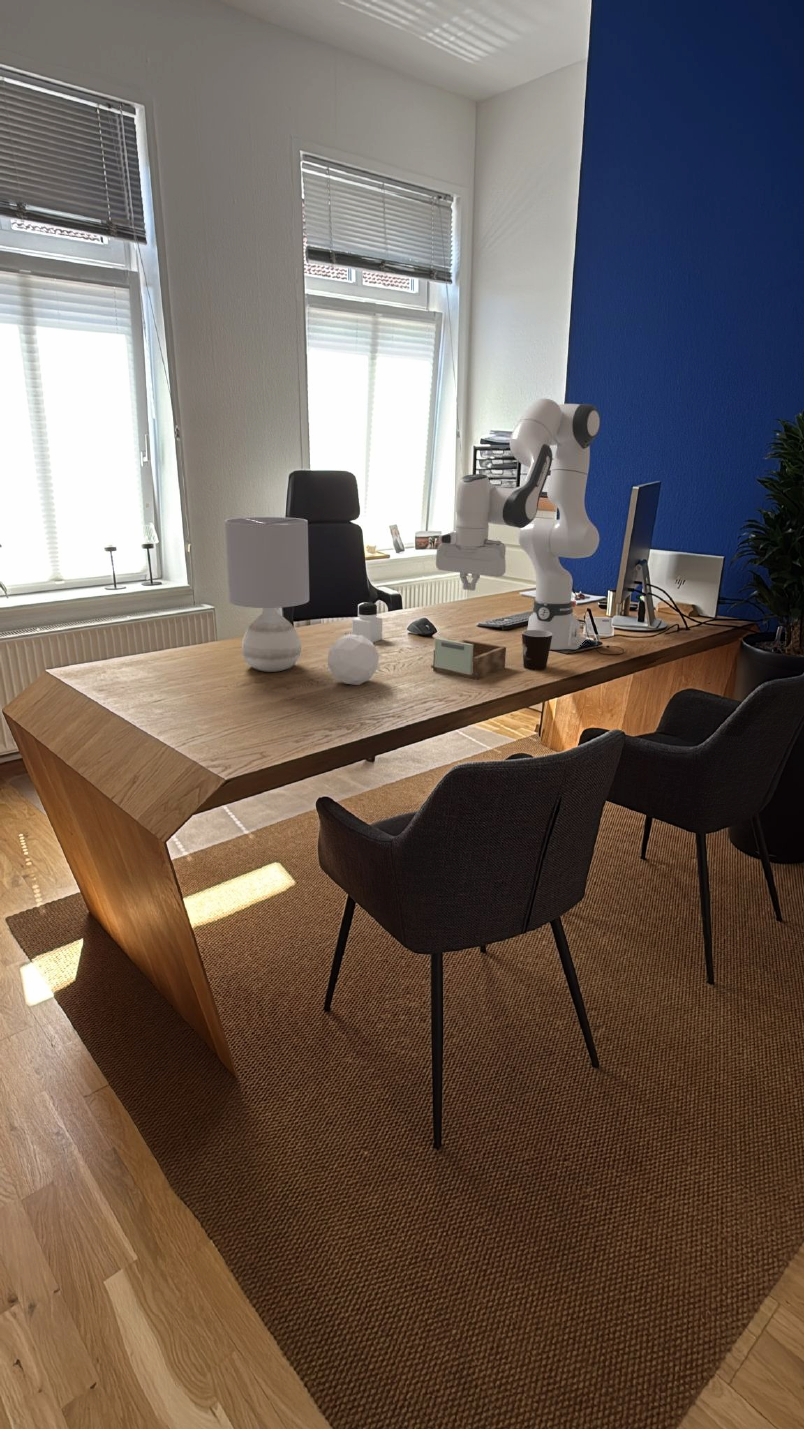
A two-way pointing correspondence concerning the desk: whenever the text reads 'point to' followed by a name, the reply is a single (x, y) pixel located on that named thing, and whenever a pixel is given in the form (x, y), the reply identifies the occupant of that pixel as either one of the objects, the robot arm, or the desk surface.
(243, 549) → the lamp
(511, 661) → the desk surface
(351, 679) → the geodesic sphere
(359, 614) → the medicine bottle
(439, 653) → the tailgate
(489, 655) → the crate
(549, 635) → the coffee mug
